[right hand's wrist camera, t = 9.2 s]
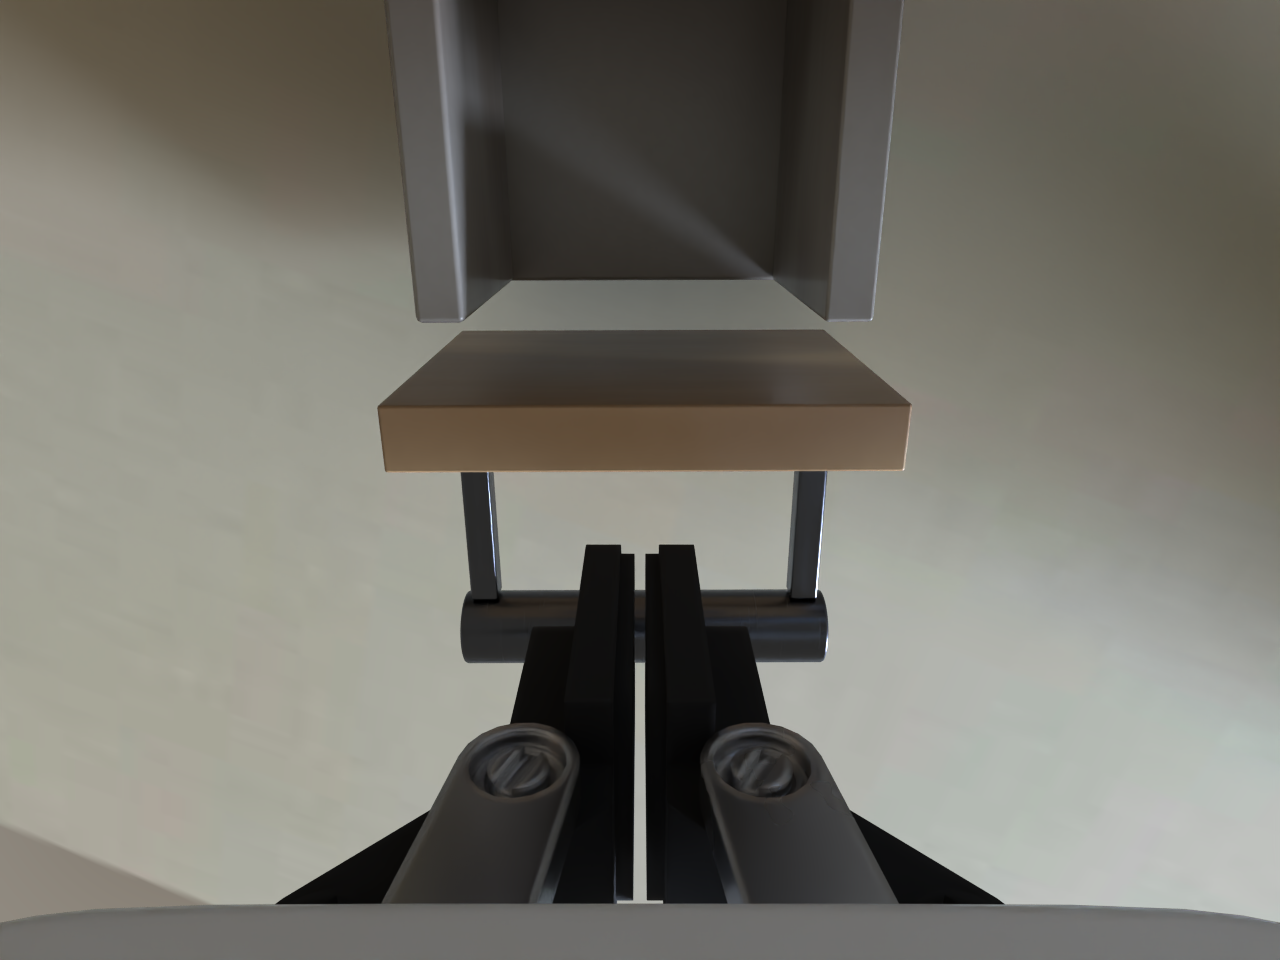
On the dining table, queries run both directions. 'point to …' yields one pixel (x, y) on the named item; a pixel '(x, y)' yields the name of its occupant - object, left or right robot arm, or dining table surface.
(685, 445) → the drawer
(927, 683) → the dining table surface
